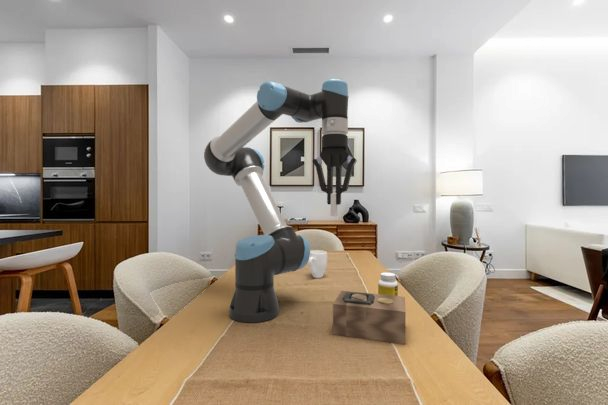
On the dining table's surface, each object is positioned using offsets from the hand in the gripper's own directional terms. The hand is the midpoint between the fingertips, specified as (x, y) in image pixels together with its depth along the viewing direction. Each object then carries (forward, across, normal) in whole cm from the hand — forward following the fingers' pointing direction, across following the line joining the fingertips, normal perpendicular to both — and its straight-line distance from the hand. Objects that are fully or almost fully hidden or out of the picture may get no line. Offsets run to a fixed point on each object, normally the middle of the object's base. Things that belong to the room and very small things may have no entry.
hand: (333, 215), depth 90 cm
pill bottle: (+31, +15, +15) cm, 37 cm away
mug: (+31, -17, +44) cm, 56 cm away
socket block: (+30, +11, -4) cm, 33 cm away
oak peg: (+30, +8, -4) cm, 31 cm away
